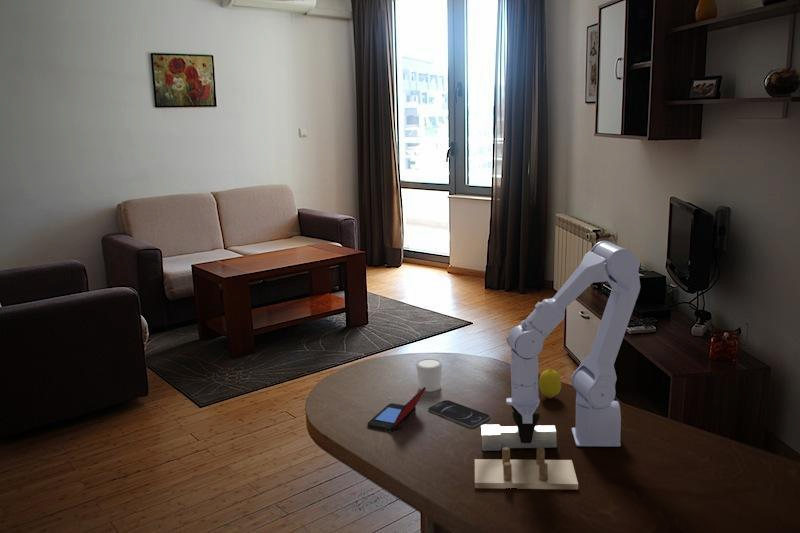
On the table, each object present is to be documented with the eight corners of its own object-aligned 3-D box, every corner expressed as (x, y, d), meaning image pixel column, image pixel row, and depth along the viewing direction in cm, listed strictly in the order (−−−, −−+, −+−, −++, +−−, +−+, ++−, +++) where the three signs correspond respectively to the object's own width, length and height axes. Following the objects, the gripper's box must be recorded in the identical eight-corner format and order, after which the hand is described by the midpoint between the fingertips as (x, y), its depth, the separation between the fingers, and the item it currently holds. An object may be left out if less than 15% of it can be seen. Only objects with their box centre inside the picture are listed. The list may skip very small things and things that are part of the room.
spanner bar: (554, 439, 150) (554, 423, 149) (557, 449, 146) (556, 433, 145) (482, 440, 152) (481, 425, 151) (482, 450, 148) (481, 435, 147)
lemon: (564, 395, 173) (564, 366, 171) (556, 404, 168) (556, 374, 166) (543, 391, 176) (543, 363, 174) (535, 400, 171) (535, 370, 169)
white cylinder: (443, 391, 179) (442, 367, 177) (417, 393, 179) (416, 368, 178) (442, 381, 186) (441, 357, 184) (417, 382, 186) (415, 358, 184)
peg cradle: (571, 465, 141) (571, 446, 140) (578, 489, 132) (578, 469, 131) (474, 464, 143) (474, 445, 142) (474, 488, 134) (474, 468, 133)
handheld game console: (390, 406, 173) (388, 379, 171) (428, 413, 168) (427, 385, 166) (365, 428, 162) (363, 399, 160) (405, 436, 157) (404, 406, 155)
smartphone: (446, 399, 174) (492, 415, 163) (446, 402, 174) (492, 419, 163) (425, 409, 169) (471, 426, 158) (426, 412, 169) (471, 430, 158)
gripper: (504, 368, 153) (505, 423, 156) (507, 395, 139) (508, 455, 142) (536, 367, 152) (536, 423, 155) (542, 395, 138) (542, 455, 141)
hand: (525, 438), depth 148 cm, fingers closed on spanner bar, 3 cm apart
